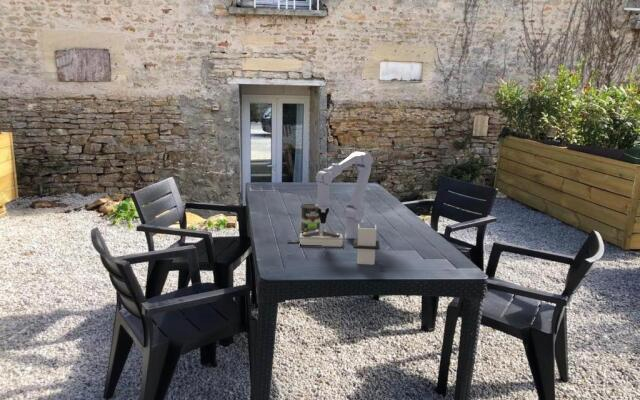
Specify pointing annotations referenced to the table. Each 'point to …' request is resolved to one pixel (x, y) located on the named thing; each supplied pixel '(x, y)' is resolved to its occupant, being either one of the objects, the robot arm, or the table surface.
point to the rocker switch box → (321, 240)
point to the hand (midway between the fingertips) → (323, 223)
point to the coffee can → (309, 218)
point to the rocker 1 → (311, 233)
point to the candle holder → (366, 245)
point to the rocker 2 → (330, 233)
